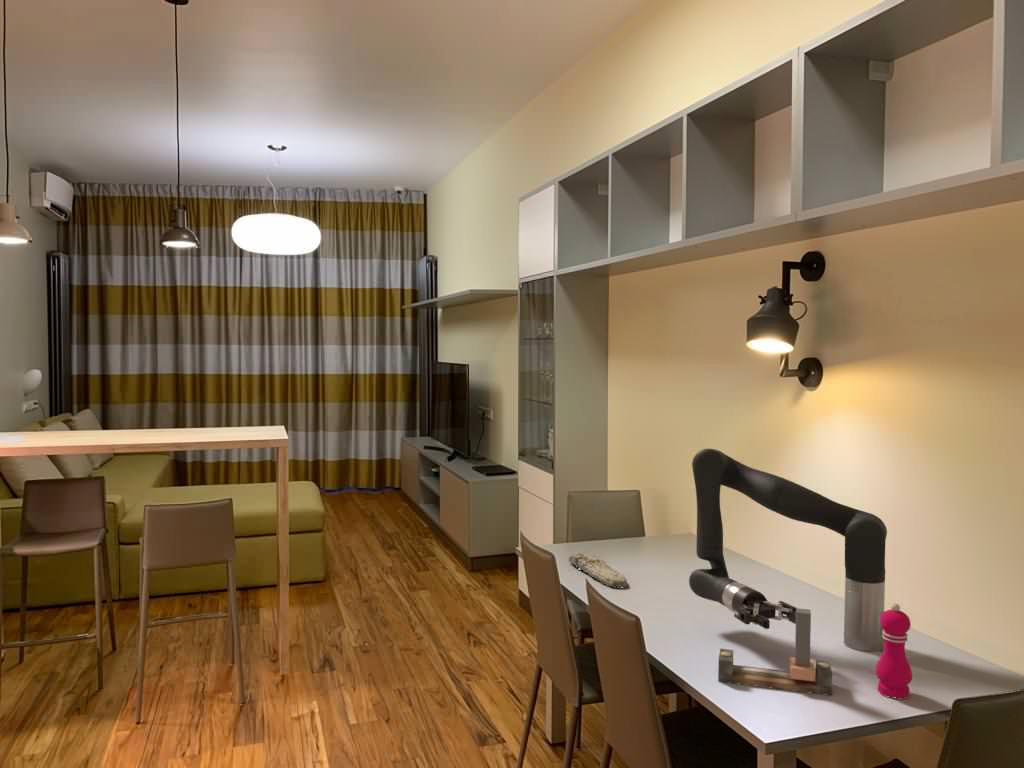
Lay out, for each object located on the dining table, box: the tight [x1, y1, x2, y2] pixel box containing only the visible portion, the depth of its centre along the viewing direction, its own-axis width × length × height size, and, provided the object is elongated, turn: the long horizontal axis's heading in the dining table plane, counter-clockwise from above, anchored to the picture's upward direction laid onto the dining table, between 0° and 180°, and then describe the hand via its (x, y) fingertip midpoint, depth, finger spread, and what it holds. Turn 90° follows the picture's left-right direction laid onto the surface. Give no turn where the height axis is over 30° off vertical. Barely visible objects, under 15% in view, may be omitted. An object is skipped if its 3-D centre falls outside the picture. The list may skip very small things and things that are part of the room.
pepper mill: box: [875, 602, 913, 699], centre depth 174 cm, size 7×7×20 cm
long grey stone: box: [568, 552, 628, 589], centre depth 265 cm, size 35×5×10 cm
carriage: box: [789, 607, 815, 681], centre depth 178 cm, size 5×6×14 cm
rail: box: [717, 648, 833, 696], centre depth 180 cm, size 24×7×5 cm, turn 72°
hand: (784, 622), depth 184 cm, fingers open, 8 cm apart
